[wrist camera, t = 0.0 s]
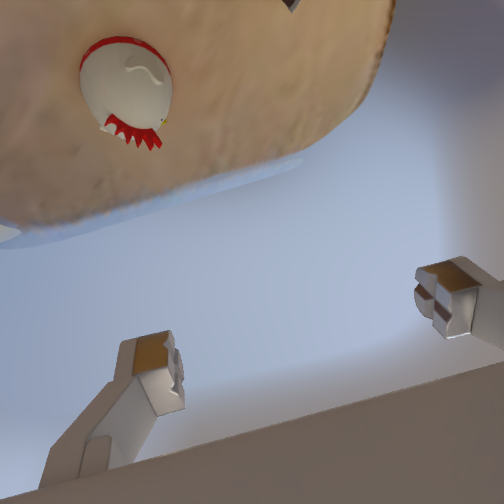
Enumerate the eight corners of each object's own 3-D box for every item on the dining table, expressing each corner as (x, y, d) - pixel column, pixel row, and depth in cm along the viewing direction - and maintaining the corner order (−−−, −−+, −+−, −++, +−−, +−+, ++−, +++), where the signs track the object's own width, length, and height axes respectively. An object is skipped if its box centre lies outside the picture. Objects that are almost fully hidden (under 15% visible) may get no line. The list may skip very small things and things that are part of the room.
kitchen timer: (150, 127, 69) (159, 188, 61) (69, 98, 61) (67, 164, 53) (185, 62, 61) (201, 123, 53) (96, 18, 52) (99, 83, 45)
